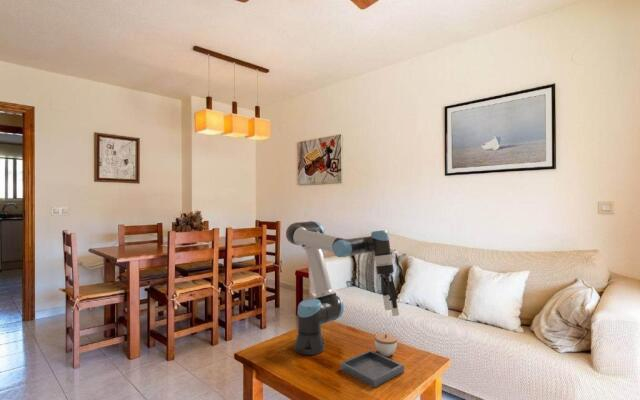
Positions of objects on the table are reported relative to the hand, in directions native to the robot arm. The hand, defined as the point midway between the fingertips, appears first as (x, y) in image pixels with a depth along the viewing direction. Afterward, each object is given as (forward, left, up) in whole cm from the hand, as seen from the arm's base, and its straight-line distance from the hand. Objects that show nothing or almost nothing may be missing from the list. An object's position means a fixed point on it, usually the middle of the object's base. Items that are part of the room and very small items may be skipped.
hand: (391, 312), depth 155 cm
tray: (-4, -9, -24) cm, 26 cm away
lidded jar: (-11, +9, -25) cm, 28 cm away
